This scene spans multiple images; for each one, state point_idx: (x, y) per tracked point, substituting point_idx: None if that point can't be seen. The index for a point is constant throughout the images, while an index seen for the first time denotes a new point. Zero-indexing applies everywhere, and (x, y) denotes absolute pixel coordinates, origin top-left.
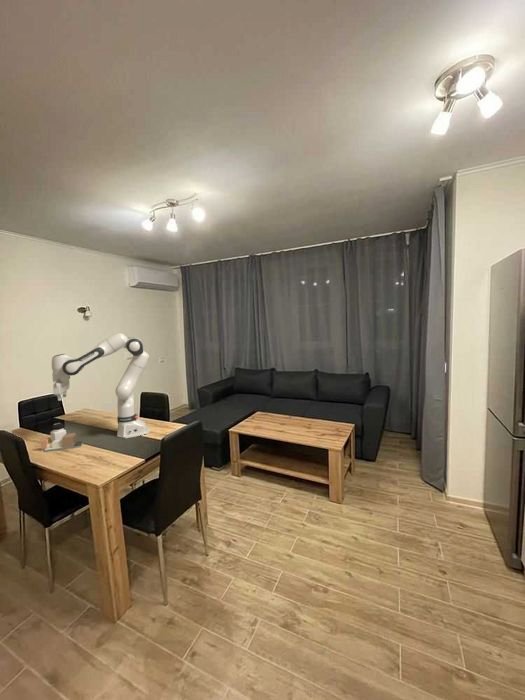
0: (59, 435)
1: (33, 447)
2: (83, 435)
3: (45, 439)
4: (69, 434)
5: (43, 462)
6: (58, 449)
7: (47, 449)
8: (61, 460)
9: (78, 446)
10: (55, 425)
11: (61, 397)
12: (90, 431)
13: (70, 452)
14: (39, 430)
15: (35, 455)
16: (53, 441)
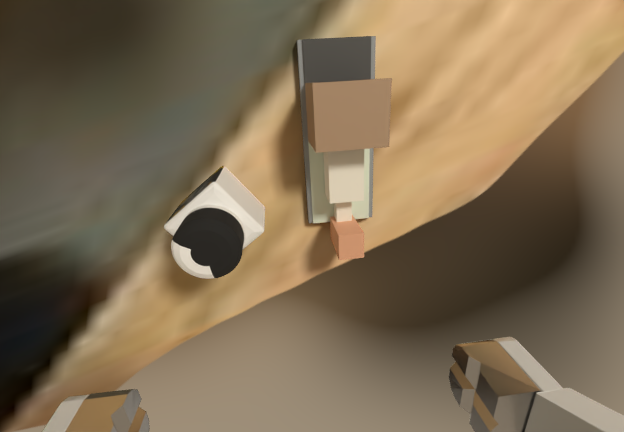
0: (247, 205)
1: (289, 285)
2: (155, 83)
3: (350, 242)
4: (335, 119)
5: (497, 165)
6: (371, 154)
7: (368, 205)
8: (518, 86)
9: (373, 48)
10: (233, 257)
11: (513, 398)
12: (71, 54)
13: (431, 74)
14: (33, 368)
15: (396, 234)
16: (345, 199)
